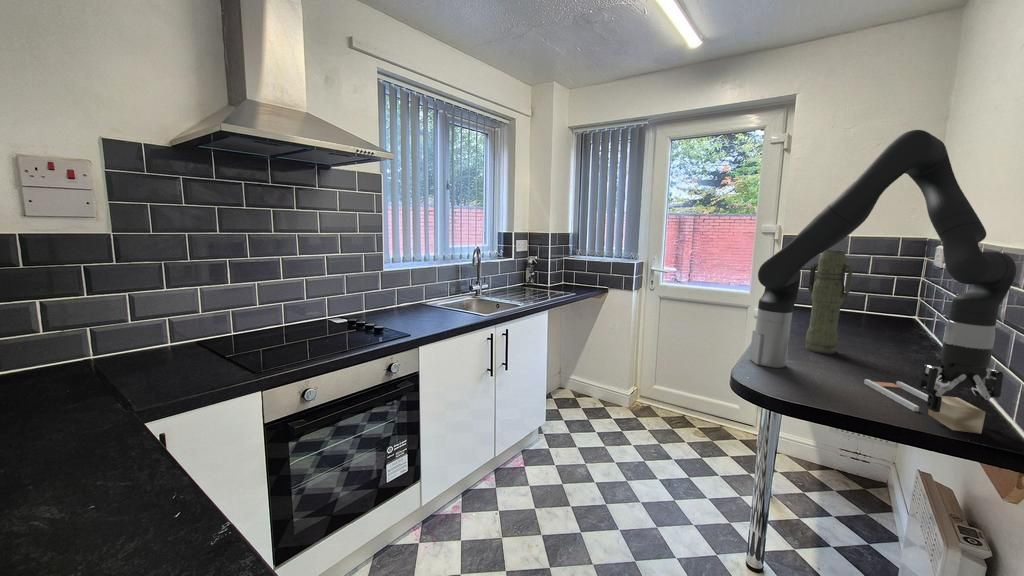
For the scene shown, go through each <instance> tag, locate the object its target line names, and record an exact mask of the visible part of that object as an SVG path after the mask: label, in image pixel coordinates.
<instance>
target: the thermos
mask: <svg viewBox="0 0 1024 576" xmlns="http://www.w3.org/2000/svg"><path fill="white" fill-rule="evenodd" d="M816 269H817V270H816ZM846 269H847V270H848V273H847V279H846V280H847V281H846V286H845V278H844V277H845V273H846ZM816 271H817V272H816ZM853 271H854V269H852V266H850V265H848V264H847V256H846V253H845V252H843V250H829V249H827V250H826V251H824V252H822V253H821V254H820V256H819V258H818V263H813V265H812V266H811V267H810V270H809V282H808V289H807V290H808V292H810V294H812V295H811V301H812V306H811V313H810V320H809V327H808V329H807V330H806V335H805V349H806V350H808V351H810V352H813V353H817V354H828V355H831V354H836V347H837V345H838V339H839V332H838V327H839V326H838V325H839V318H840V312H841V305H842V304H843V303H844V298H845V297H846V298H848V297H849V295H850V292H851V291H850V290H851V284H852V277H853ZM816 273H817V276H816ZM815 277H816V278H815Z"/></svg>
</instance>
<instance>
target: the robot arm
mask: <svg viewBox="0 0 1024 576" xmlns="http://www.w3.org/2000/svg"><path fill="white" fill-rule="evenodd" d="M904 174H906V175H908V176H909V178H911V179H912V180H913V182H914V183H915V184H916V185H917V186H918V187H919V189H920V191H921V192H922V195H923V197H924V199H925V204H926V209H927V214H928V218H929V220H930V222H931V224H932V226H933V229H934V231H935V232H936V234H937V235H938V237H939V239H940V241H941V243H942V250H943V251H942V253H943V258H944V265H945V269H946V271H947V273H948V275H949V276H950V277H951V278H952V279H953V280H954V281H956V282H957V283H960V284H963V285H969V288H968V289H967V291H966V292H965V293H962V294H958V295H956V296H955V297H953V299H952V301H951V305H950V310H949V314H948V320H947V321H948V322H947V324H946V327H945V329H944V335H943V341H942V347H941V351H940V360H941V364H940V365H939V366H933V365H930V364H928V363H927V364H924V365H923V368H922V371H921V377H920V380H919V383H918V389H919V390H920V391H921V390H922V391H923V392H926V394H927V395H928V401H926V407H927V408H928V410H929V409H930V410H932V411H934V412H939V411H940V406H941V401H942V397H940V396H944V394H945V393H946V392H947V391H951V390H953V389H954V388H955V389H958V388H959V389H961V388H966V389H970V390H971V392H972V393H973V394H974V395H973V396H972V401H971V405H973V406H975V407H977V408H979V409H981V410H982V411H984V412H986V410H987V407H988V401H989V400H990V399H992V398H997V399H998V398H1000V397H1001V395H1002V387H1003V379H1004V372H1003V371H1000V370H998V369H994V368H992V367H990V363H991V360H992V355H993V349H994V344H995V340H996V324H997V318H998V315H999V310H1000V309H999V307H1000V306H1001V304H1002V302H1003V300H1004V299H1005V298H1006V296H1007V294H1008V292H1009V291H1010V288H1011V286H1012V285H1013V283H1014V281H1015V279H1016V275H1017V265H1016V262H1015V260H1014V258H1012V257H1011V256H1010V255H1008V254H1007V253H1004V252H1001V251H982V250H981V248H980V246H979V243H981V242H982V241H984V240H985V239H986V238H987V230H986V228H985V226H984V225H983V222H982V221H981V219H980V218H979V216H978V214H977V213H976V211H975V210H974V208H973V207H972V204H971V203H970V201H969V200H968V198H967V197H966V195H965V194H964V192H963V191H962V188H961V187H960V184H959V182H958V180H957V178H956V176H955V173H954V170H953V168H952V164H951V160H950V157H949V153H948V149H947V147H946V145H945V143H944V142H943V141H942V140H941V139H939V138H937V136H934V135H933V134H931V132H928V131H926V130H923V129H912V130H909V131H906V132H904V133H902V134H900V135H898V136H897V137H896V138H894V139H892V141H891V142H890V143H888V145H887V146H885V148H884V149H883V150H882V151H881V152H880V153H879V154H878V156H877V157H876V158H875V159H874V160H873V161H872V162H871V164H869V165H868V167H867V168H866V169H865V170H864V171H863V172H862V173H861V174H860V175H859V176H858V177H857V178H856V179H855V180H853V182H852V183H851V184H850V185H848V186H847V187H846V188H845V190H843V191H842V192H841V193H840V194H839V195H838V196H836V198H835V199H833V200H832V201H831V202H830V203H829V204H827V206H825V207H824V209H822V210H821V211H820V212H819V213H818V214H816V216H815V217H814V218H813V219H812V220H811V221H809V223H807V225H806V226H805V227H804V228H803V229H802V230H800V232H799V233H797V235H796V236H795V237H794V238H793V239H792V240H791V241H790V242H789V243H788V244H786V245H785V246H784V247H783V248H782V249H780V250H779V251H777V252H775V254H774V255H772V256H771V257H769V258H768V259H767V260H765V262H763V263H762V264H761V266H760V267H759V269H758V271H757V280H758V281H759V283H760V285H762V286H763V287H764V292H763V294H762V296H761V297H760V298H759V300H758V307H757V316H756V322H755V323H756V324H755V330H752V334H751V343H750V351H749V352H750V353H749V360H750V361H752V362H753V363H754V364H755V365H757V366H764V367H768V368H776V369H777V368H778V369H779V368H780V369H781V368H785V367H786V366H787V361H788V351H789V342H790V336H791V328H792V320H793V315H794V314H793V313H794V308H795V307H794V306H795V304H796V302H797V299H798V295H799V288H800V281H801V269H802V268H803V267H805V265H807V264H808V263H809V262H810V261H811V260H813V259H814V258H816V257H817V256H819V255H821V254H822V252H825V251H826V250H829V249H831V248H832V247H834V246H835V245H837V244H838V243H840V242H842V241H843V240H845V239H846V238H847V237H848V236H850V234H852V233H853V232H854V231H856V229H858V228H859V227H860V226H861V225H862V224H863V223H864V222H865V221H866V220H867V219H868V218H869V216H870V215H871V213H872V211H873V209H874V207H875V206H876V204H877V202H878V200H879V199H880V197H881V196H882V194H883V193H884V192H885V191H886V189H888V188H889V187H890V186H891V185H892V184H893V183H894V182H896V181H897V180H898V179H899V178H901V177H903V175H904ZM988 367H989V368H988ZM983 380H984V381H983ZM944 382H945V383H944Z"/></svg>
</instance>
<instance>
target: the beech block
mask: <svg viewBox="0 0 1024 576" xmlns="http://www.w3.org/2000/svg"><path fill="white" fill-rule="evenodd" d="M940 397H942V401H941V406H940V411H939V412H934V411H932V410H930V409H929V408H928V413H927V415H929V416H930V417H931V418H933V419H934V420H936V421H938V422H940V423H941V424H942V425H943V426H945V427H947V428H948V429H950V430H951V431H958V432H963V433H964V432H965V433H966V432H967V433H975V434H980V435H981V434H982V431H983V427H984V422H985V419H986V418H985V417H986V411H985V412H984V411H982V410H981V409H979V408H977V407H975V406H973V405H972V403H969V402H967V401H965V400H963V399H962V398H961V397H960V398H959V397H957V396H955V397H954V396H947V395H946V396H945V395H941V396H940Z"/></svg>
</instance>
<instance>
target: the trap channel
mask: <svg viewBox="0 0 1024 576" xmlns="http://www.w3.org/2000/svg"><path fill="white" fill-rule="evenodd" d="M863 383H864V385H866V386H868V387H869V388H872V389H873V390H875V391H877V392H879V393H881V394H883V395H884V396H886V397H887V398H890V400H894V402H897V403H899V405H902V406H904V407H905V408H908V410H909V409H910V410H911V411H912V412H919V411H920V406H918V405H917V404H915V403H913V402H911V401H910V400H907V399H906V398H904V397H903V396H900V395H898V394H896V393H895V392H893V391H890V390H889V389H887V388H893V389H901V390H904V391H906V392H908V393H910V394H912V395H913V396H916V397H918V398H920V399H922V400H923V401H925V402H927V401H928V393H924V391H923V392H922V391H921V390H920V389H919V390H918V389H916V388H915V387H912V386H910V385H909V384H906V383H904V382H902V381H898V380H897V381H896V382H895V383H894V382H893V383H892V382H885V381H883V382H882V381H881V382H880V381H873V380H871V379H866V378H865V379H864V381H863Z"/></svg>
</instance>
